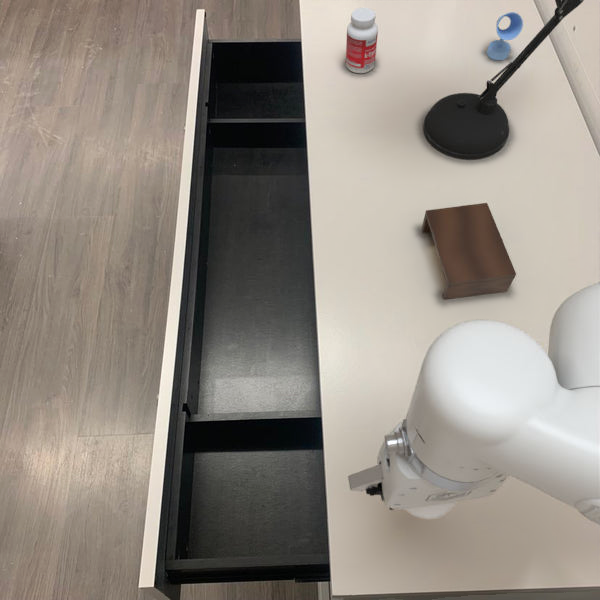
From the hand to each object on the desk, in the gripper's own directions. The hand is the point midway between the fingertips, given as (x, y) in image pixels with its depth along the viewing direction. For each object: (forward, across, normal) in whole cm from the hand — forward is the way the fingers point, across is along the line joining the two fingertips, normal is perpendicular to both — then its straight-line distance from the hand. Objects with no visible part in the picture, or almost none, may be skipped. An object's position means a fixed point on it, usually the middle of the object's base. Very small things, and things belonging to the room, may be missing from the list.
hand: (423, 488), depth 54 cm
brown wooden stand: (+13, +17, +36) cm, 42 cm away
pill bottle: (+13, +10, +88) cm, 90 cm away
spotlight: (+14, +39, +86) cm, 96 cm away
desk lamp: (+13, +25, +65) cm, 71 cm away
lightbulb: (+6, 0, 0) cm, 6 cm away
